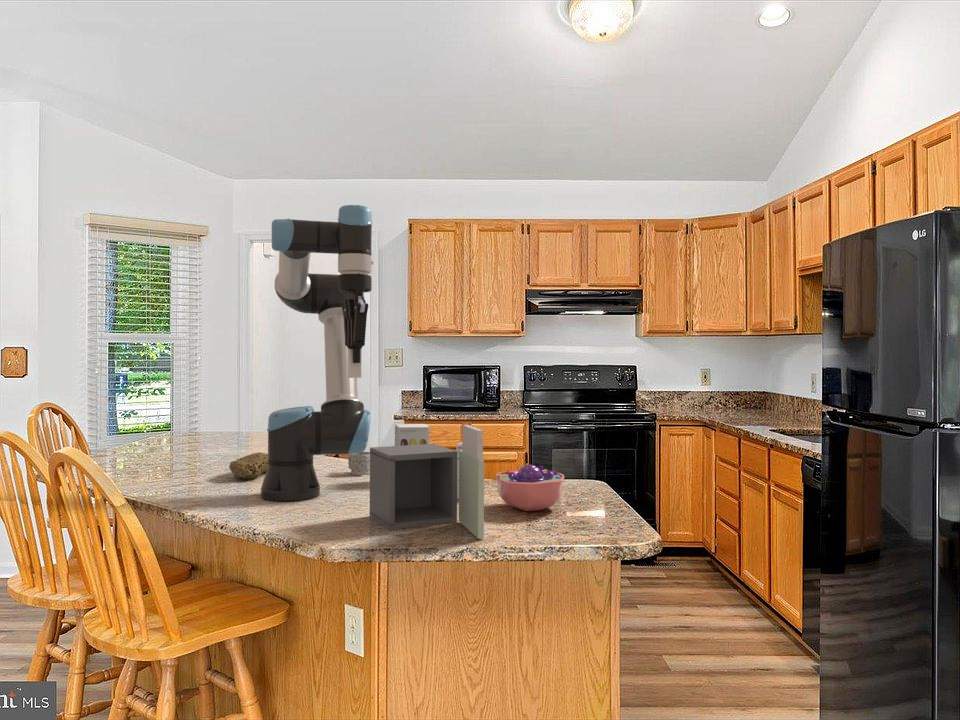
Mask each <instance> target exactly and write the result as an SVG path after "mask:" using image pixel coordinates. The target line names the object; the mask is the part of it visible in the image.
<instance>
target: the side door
mask: <svg viewBox="0 0 960 720" xmlns="http://www.w3.org/2000/svg"><path fill="white" fill-rule="evenodd" d="M461 426H462V427H461V430H462V431H461V436H462V439H461V442H462V450H459V499H458V522H459V523H460V524H461V525H462V526H463V527H465V528H466V530H468V531H469V532H470V533H471V534H472V535H473V536H474V537H475V538H476V539H478V540H480V539H481V540H482V539H484V538H485V534H484V533H485V460H484V430H483V429H480V428H478V427H475V426H473V425H470V424H462V425H461Z"/></svg>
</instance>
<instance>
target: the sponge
mask: <svg viewBox="0 0 960 720" xmlns="http://www.w3.org/2000/svg"><path fill="white" fill-rule="evenodd" d="M229 463H230V464H229V466H228V467H229V470H230V472H231V473H232V474H233V475H234V476H235V477H238V478H239V479H244V480H252V479H256V478H258V477H260V476H262V475H263V474H264V473H266V472H267V469H268V452H267V453H265V452H254V453H253V452H252V453H251V454H248V455H245V456H243V457H240V458H238V459H235V460H233V461H232V460H231V462H229Z"/></svg>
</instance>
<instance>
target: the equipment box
mask: <svg viewBox="0 0 960 720" xmlns="http://www.w3.org/2000/svg"><path fill="white" fill-rule="evenodd" d="M369 452H370V476H369V517H370V518H372V519H373V520H374V521H376V522H377V523H378V524H381V525H382V526H383V527H385V528H386V529H387V530H389V531H391V530H399V529H407V528H409V529H410V528H417V527H425V526H427V527H428V526H436V525H443V524H454V523H458V499H457V451H456V449H455V450H454V449H452V448H448V447H445V446H441V445H439V444H435V443H429V444H422V445H405V446H395V445H388V446H374V447H369Z"/></svg>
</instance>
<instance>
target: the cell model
mask: <svg viewBox="0 0 960 720" xmlns="http://www.w3.org/2000/svg"><path fill="white" fill-rule="evenodd" d="M543 468H544V465H539V466H538V467H537V466H536V465H534V464H524V465H523V466H522V467H520V468H519V469H515V470H514V469H513V470H505V471H499V472H497V473H496V475H495V476H496V484H497V491H498V496H499V497H500V498H501V500H502V501H503V502H504V503H505V504H506V505H508V506H510V507H512V508H516V509H518V510H521V511H523V512H535V511H542V510H545V509H548V508H550V507H552V506H554V505H555V504H556V503H558V501H559V500H560V499H561V497H562V492H563V484H564V480H565V475H564V474H563V473H561V472H558V470H557V469H555V470H550V469H546V468H545V469H543Z"/></svg>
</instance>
